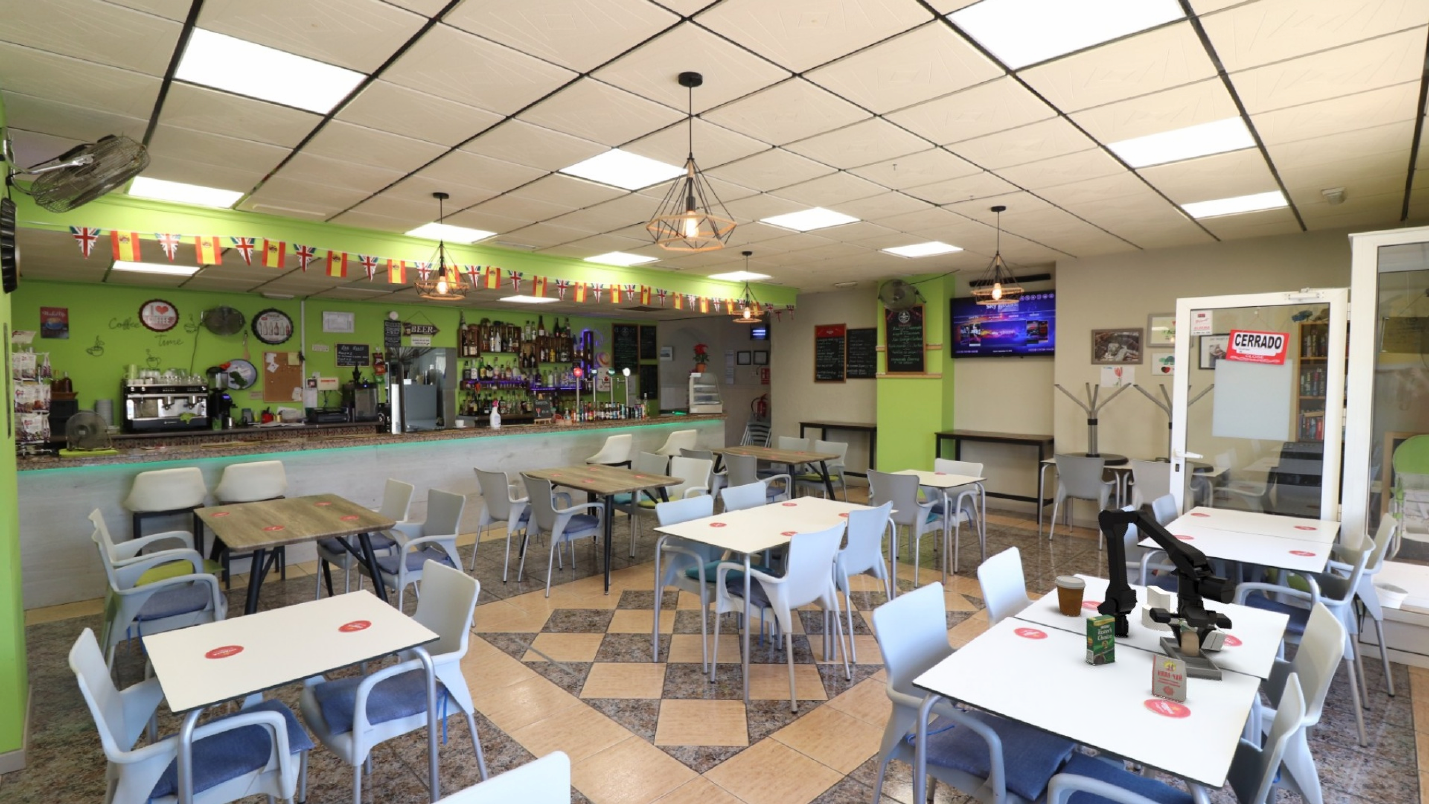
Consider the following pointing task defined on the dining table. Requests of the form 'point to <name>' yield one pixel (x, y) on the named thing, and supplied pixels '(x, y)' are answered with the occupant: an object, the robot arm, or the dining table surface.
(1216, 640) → the syrup box
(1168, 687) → the tea bag
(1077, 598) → the disposable coffee cup
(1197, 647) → the beige domed cylinder
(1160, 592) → the base with upright slab
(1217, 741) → the dining table surface
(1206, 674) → the grey divided tray
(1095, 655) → the coffee box
